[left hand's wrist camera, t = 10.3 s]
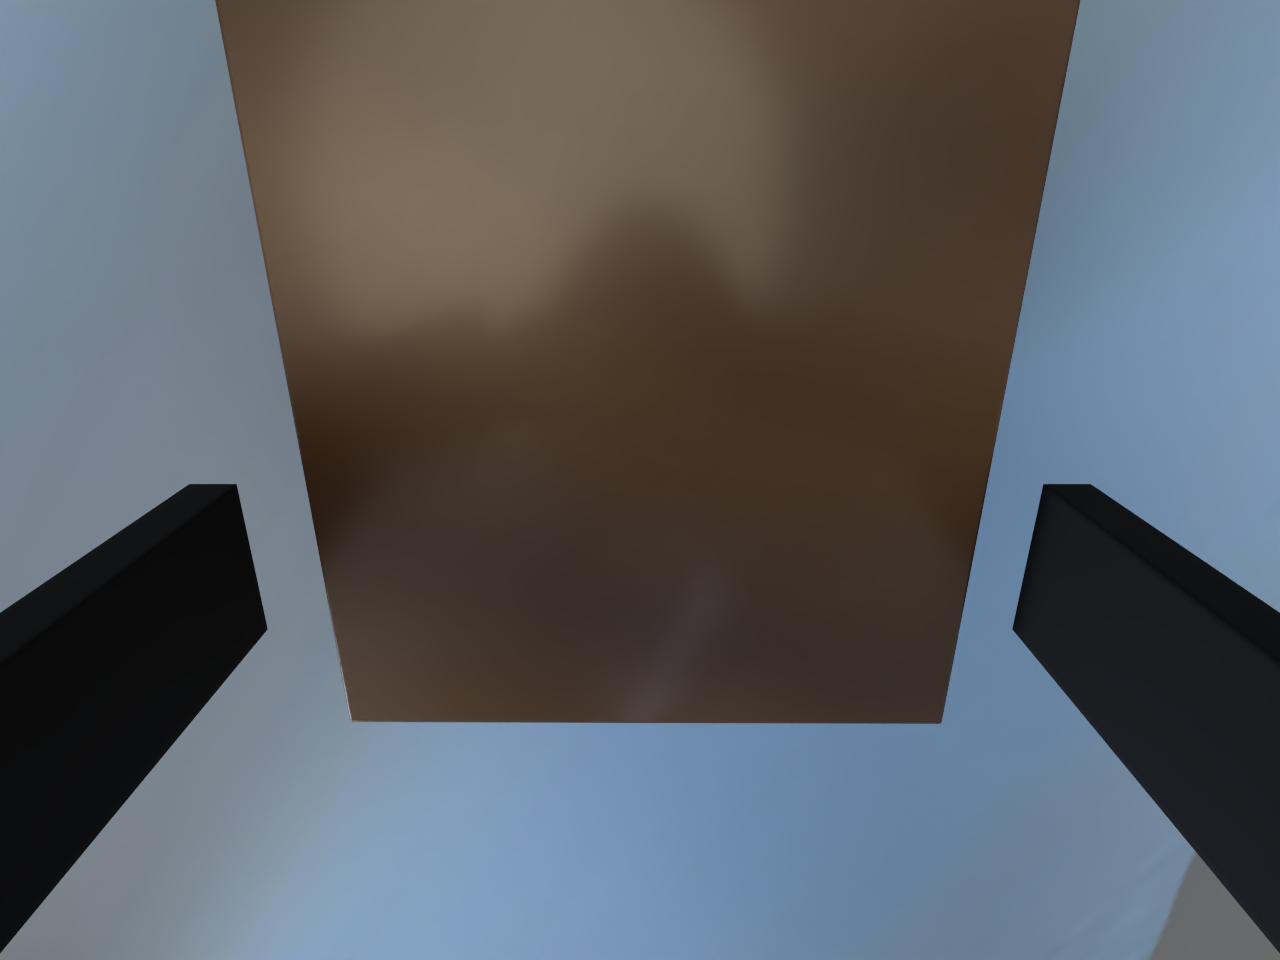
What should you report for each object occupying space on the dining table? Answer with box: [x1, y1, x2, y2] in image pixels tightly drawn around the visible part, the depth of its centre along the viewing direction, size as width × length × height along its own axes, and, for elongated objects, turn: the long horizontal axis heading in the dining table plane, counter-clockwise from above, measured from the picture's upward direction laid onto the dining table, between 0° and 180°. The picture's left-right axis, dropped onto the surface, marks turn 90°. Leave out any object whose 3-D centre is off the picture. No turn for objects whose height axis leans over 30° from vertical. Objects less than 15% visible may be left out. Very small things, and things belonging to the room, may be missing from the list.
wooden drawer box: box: [215, 0, 1080, 724], centre depth 14 cm, size 21×11×11 cm, turn 0°
